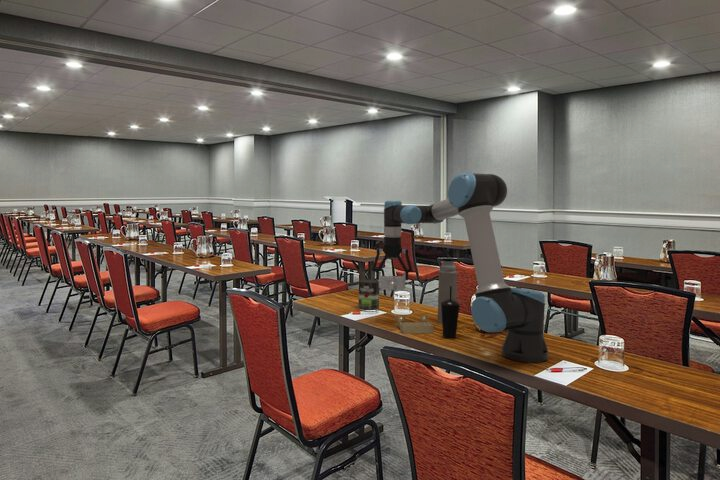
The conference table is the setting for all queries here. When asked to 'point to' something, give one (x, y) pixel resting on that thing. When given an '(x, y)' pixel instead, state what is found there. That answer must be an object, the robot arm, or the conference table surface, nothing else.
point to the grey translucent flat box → (415, 326)
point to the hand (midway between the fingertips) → (391, 287)
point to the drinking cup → (450, 316)
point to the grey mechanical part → (391, 283)
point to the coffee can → (368, 294)
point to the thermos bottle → (446, 283)
